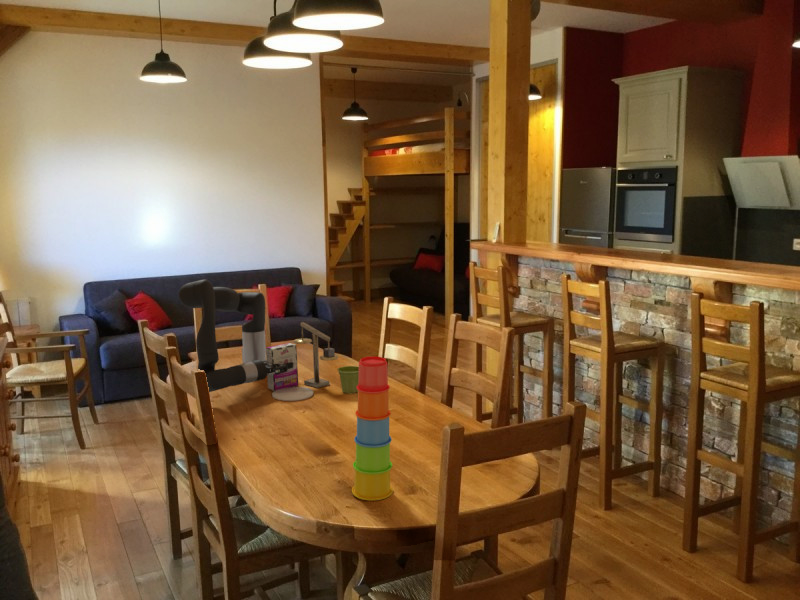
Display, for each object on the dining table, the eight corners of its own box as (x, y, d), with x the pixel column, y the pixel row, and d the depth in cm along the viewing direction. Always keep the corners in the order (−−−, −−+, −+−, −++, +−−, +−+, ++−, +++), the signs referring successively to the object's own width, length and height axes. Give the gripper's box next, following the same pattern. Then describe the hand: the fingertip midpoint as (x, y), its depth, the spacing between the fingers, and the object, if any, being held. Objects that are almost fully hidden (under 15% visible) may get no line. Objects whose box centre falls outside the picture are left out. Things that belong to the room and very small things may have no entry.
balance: (291, 381, 285) (289, 322, 281) (305, 377, 290) (303, 320, 286) (329, 391, 270) (327, 329, 266) (343, 387, 275) (341, 326, 271)
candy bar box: (291, 383, 282) (289, 342, 279) (298, 385, 278) (297, 344, 276) (266, 389, 275) (265, 347, 272) (274, 391, 271) (272, 349, 268)
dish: (264, 395, 266) (263, 393, 266) (295, 387, 277) (295, 384, 276) (289, 403, 256) (289, 400, 256) (321, 394, 267) (321, 391, 266)
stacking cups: (394, 484, 185) (392, 353, 180) (391, 501, 175) (388, 363, 170) (354, 483, 186) (351, 353, 181) (349, 501, 176) (345, 363, 170)
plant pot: (364, 388, 274) (364, 366, 272) (361, 395, 265) (360, 372, 263) (340, 387, 275) (339, 365, 273) (335, 394, 265) (335, 372, 264)
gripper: (262, 365, 259) (298, 356, 271) (239, 359, 269) (275, 351, 281) (263, 385, 260) (299, 376, 273) (240, 378, 270) (275, 369, 282)
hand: (286, 363), depth 277 cm, fingers open, 6 cm apart
